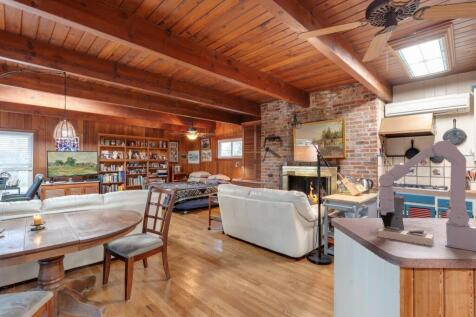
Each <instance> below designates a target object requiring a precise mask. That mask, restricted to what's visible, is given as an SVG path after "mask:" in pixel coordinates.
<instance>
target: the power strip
mask: <svg viewBox="0 0 476 317" xmlns="http://www.w3.org/2000/svg"><path fill="white" fill-rule="evenodd" d="M409 231H410V230H399V231H396V230H392V229H387V228H384V227H380V228H379V229H377V237H378V238H383V239H384V238H385V239H389V238H390V239H391V240H395V239H396V240H395V241H401V240H402V241H401V242H407V243H412V242H413V244H418V243H419V244H420V245H424V244H425V246H429V247H433V244H434V242H435V241H434V234H428V233H425V232H423V233H410V232H409Z"/></svg>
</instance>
